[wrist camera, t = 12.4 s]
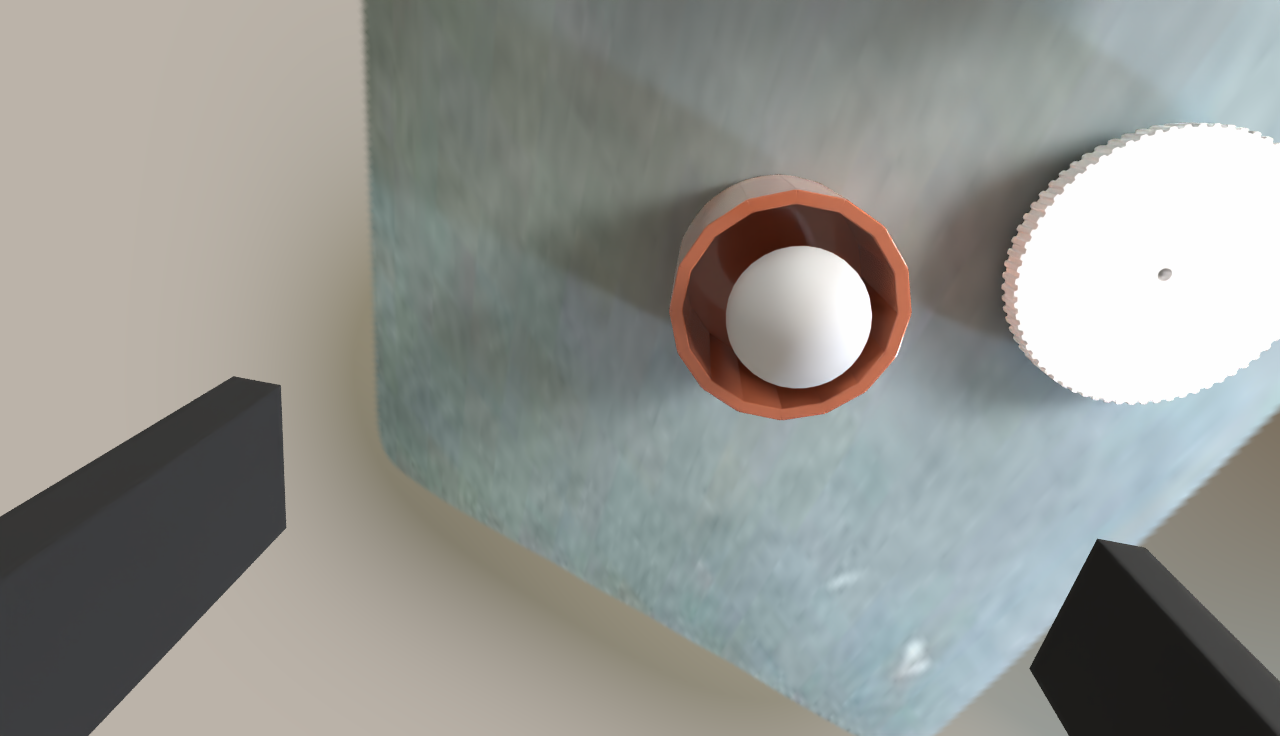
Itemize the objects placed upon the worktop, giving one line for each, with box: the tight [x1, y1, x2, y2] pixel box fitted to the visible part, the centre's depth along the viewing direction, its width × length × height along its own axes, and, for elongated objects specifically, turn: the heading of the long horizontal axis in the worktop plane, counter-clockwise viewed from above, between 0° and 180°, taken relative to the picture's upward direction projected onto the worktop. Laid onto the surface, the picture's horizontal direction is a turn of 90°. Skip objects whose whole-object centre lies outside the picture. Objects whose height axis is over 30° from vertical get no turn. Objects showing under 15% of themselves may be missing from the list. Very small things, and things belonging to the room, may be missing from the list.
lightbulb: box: [726, 246, 872, 388], centre depth 31 cm, size 6×6×11 cm
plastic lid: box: [1002, 123, 1280, 405], centre depth 34 cm, size 14×14×2 cm
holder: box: [669, 174, 912, 420], centre depth 33 cm, size 10×10×8 cm
